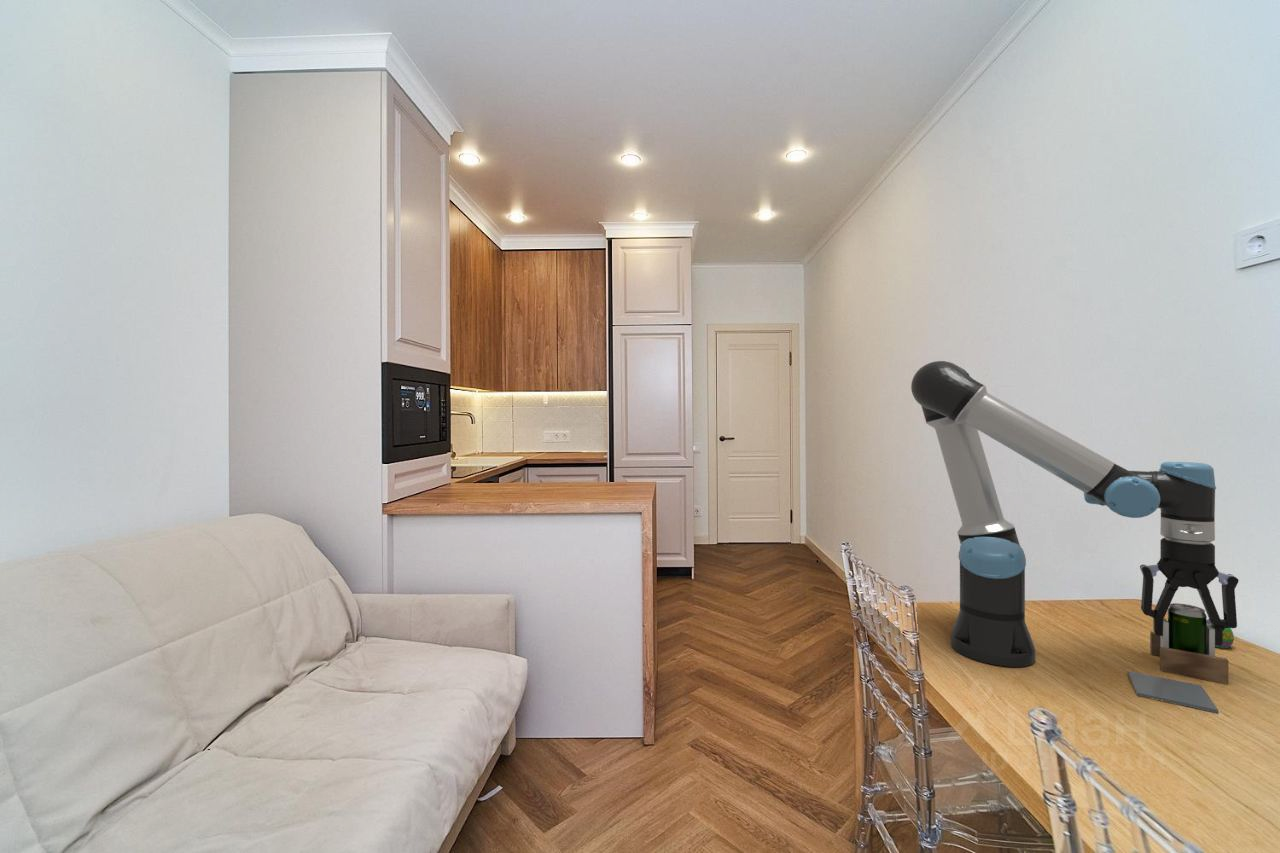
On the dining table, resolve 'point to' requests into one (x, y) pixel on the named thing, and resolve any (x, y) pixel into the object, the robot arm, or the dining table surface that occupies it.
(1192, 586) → the robot arm
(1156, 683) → the coaster
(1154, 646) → the rack
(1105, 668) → the dining table surface
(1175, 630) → the beer can
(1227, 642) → the egg
